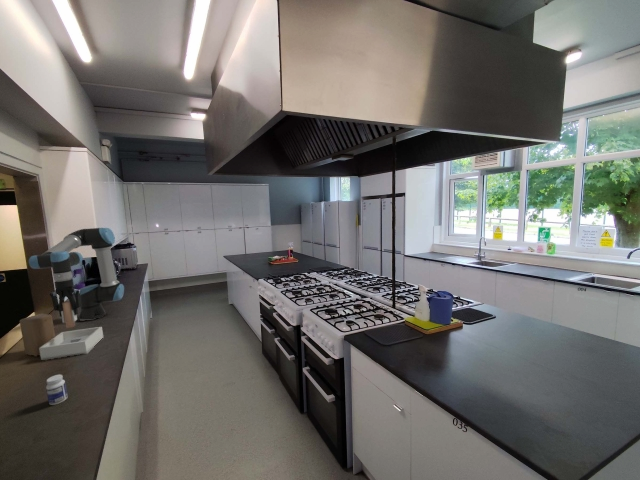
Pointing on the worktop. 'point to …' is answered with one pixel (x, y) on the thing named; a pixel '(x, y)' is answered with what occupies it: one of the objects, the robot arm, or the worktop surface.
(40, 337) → the wooden block
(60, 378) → the pill bottle
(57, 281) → the robot arm
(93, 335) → the tub
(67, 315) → the peg
